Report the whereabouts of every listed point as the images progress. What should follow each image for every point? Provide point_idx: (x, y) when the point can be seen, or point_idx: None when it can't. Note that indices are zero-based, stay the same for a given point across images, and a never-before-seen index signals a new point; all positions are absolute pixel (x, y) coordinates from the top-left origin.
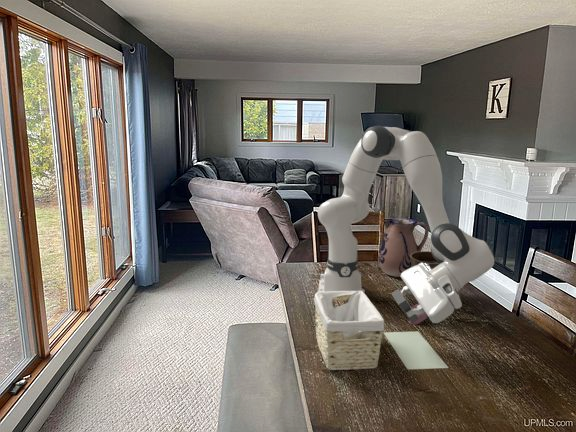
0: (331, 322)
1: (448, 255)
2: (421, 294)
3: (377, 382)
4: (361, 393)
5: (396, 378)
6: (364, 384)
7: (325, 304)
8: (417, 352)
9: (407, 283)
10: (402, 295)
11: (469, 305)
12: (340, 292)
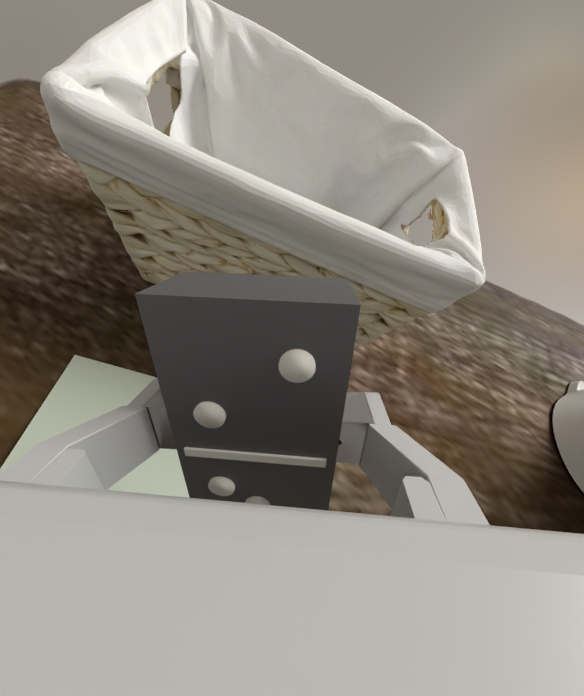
0: None
1: None
2: (24, 648)
3: (83, 246)
4: (64, 189)
5: (64, 299)
6: (96, 217)
7: (405, 184)
8: (158, 468)
9: (527, 553)
10: (224, 297)
11: None
12: (463, 205)
